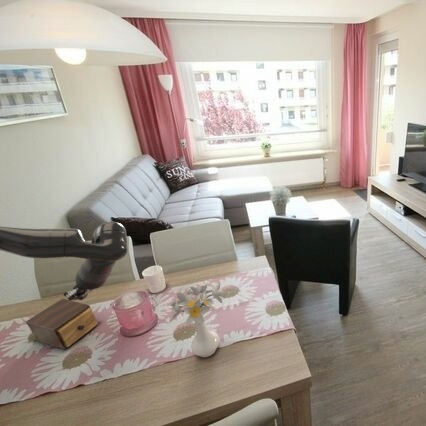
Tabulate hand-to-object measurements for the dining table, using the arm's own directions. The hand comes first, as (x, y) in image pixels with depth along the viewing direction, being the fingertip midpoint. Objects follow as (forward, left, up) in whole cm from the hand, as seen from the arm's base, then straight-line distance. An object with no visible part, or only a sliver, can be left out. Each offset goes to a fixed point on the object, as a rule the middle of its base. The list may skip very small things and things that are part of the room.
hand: (80, 297), depth 94 cm
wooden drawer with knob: (-13, +15, -23) cm, 30 cm away
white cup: (+17, +29, -24) cm, 41 cm away
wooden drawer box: (-14, +17, -24) cm, 32 cm away
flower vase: (+33, -17, -24) cm, 44 cm away
